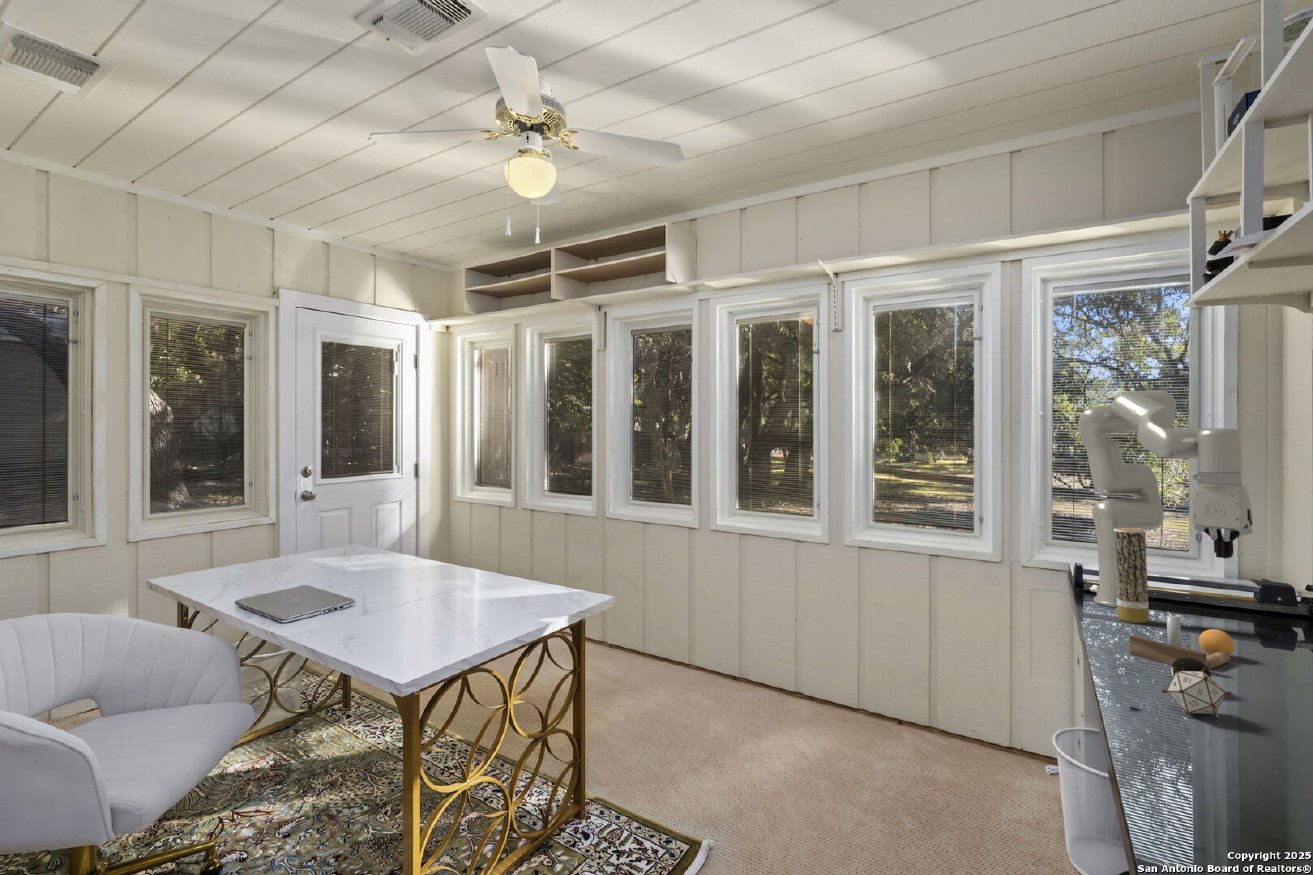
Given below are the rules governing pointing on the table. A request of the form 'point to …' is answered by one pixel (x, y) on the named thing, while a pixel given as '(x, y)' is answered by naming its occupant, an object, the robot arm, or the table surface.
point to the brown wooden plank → (1162, 651)
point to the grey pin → (1173, 630)
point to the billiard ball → (1189, 666)
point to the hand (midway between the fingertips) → (1224, 557)
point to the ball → (1216, 642)
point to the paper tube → (1131, 575)
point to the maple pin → (1217, 659)
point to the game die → (1196, 692)
